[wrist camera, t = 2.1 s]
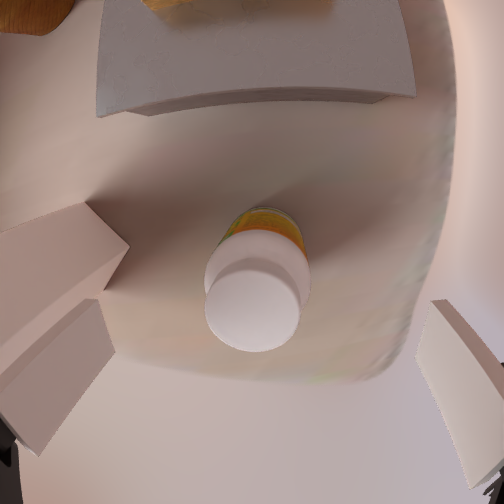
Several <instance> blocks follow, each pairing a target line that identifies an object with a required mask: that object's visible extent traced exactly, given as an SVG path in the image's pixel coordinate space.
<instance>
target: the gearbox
mask: <svg viewBox="0 0 504 504" xmlns="http://www.w3.org/2000/svg"><path fill="white" fill-rule="evenodd" d="M389 95H396V96H403V97H409V98H415V97H417V93H416V85H415V77H414V71H413V64H412V58H411V53H410V47H409V42H408V38H407V33H406V29H405V25H404V21H403V17H402V13H401V9H400V6H399V2H398V0H105V3H104V9H103V15H102V22H101V30H100V40H99V50H98V65H97V91H96V114H97V117H99V118H102V117H106V116H109V115H113V114H116V113H120V112H124V111H127V112H132V113H136V114H141V115H145V116H153V115H158V114H163V113H168V112H174V111H180V110H186V109H193V108H200V107H208V106H216V105H225V104H235V103H248V102H264V101H298V100H307V101H341V102H357V103H369V104H373V103H375V102H377V101H379V100H381V99H383V98H385V97H387V96H389Z"/></svg>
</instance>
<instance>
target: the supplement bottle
mask: <svg viewBox="0 0 504 504" xmlns="http://www.w3.org/2000/svg"><path fill="white" fill-rule="evenodd" d="M204 286H205V291H206V295H207V296H206V300H205V307H204V310H205V317H206V320H207V323H208V325H209V327H210V328H211V330H212V331H213V333H214V334H215V335H216V336H217V337H218V338H219V339H220V340H222V341H223V342H224V343H226V344H227V345H229V346H231V347H233V348H236V349H239V350H243V351H248V352H262V351H267V350H271V349H274V348H276V347H279V346H281V345H282V344H284V343H285V342H287V341H288V340H289V339H290V338H291V337H292V335H293V334H294V333H295V331H296V329H297V327H298V325H299V322H300V317H301V311H302V309H303V308H304V306H305V305H306V303H307V300H308V298H309V295H310V290H311V273H310V267H309V263H308V259H307V255H306V251H305V247H304V242H303V238H302V235H301V232H300V229H299V227H298V226H297V224H296V223H295V221H294V220H293V219H292V218H291V217H290V216H288V215H287V214H286V213H284V212H282V211H280V210H277V209H275V208H269V207H260V208H254V209H251V210H248V211H246V212H245V213H243V214H242V215H240V216H239V217H238V218H237V219H236V220H235V221H234V222H233V224H232V225H231V227H230V228H229V230H228V231H227V233H226V234H225V236H224V237H223V239H222V240H221V242H220V243H219V245H218V246H217V247H216V249H215V250H214V252H213V253H212V255H211V257H210V259H209V261H208V263H207V266H206V270H205V275H204Z"/></svg>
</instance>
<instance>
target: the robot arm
mask: <svg viewBox="0 0 504 504" xmlns="http://www.w3.org/2000/svg"><path fill="white" fill-rule="evenodd" d="M114 353H115V350H114V347H113V344H112V341H111V338H110V336H109V333H108V330H107V327H106V324H105V321H104V318H103V314H102V311H101V308H100V304H99V301H98V300H96V299H86V298H85V299H84V300H83V301H82V302H80V303H79V304H78V305H77V306H76V307H74V308H73V309H72V310H71V311H70V312H68V313H67V314H66V315H65V316H64V317H63V318H61V319H60V320H59V321H58V322H57V323H56V324H54V325H53V326H52V327H51V328H50V329H49V330H48V331H46V332H45V333H44V334H43V335H42V336H41V337H40V338H39V339H38V340H36V341H35V342H34V343H33V344H32V345H31V346H30V347H29V348H28V349H27V350H26V351H24V352H23V353H22V354H21V355H20V356H19V357H18V358H17V359H16V360H15V361H14V362H13V363H12V364H11V365H10V366H9V367H8V368H7V369H6V370H5V371H4V372H3V373H2V374H1V375H0V504H23V500H22V491H21V483H20V472H19V457H18V447H17V444H16V443H15V442H14V441H15V440H16V438H17V439H18V440H19V441H20V443H21V444H22V445H23V446H24V447H25V448H26V449H27V450H29V451H30V452H32V453H33V454H35V455H36V456H38V457H39V456H40V454H41V453H42V451H43V450H44V448H45V447H46V445H47V444H48V442H49V441H50V440H51V438H52V437H53V435H54V434H55V432H56V431H57V429H58V428H59V427H60V425H61V424H62V423H63V421H64V420H65V418H66V417H67V415H68V414H69V413H70V411H71V410H72V408H73V407H74V406H75V405H76V403H77V402H78V400H79V399H80V398H81V396H82V395H83V394H84V392H85V391H86V390H87V388H88V387H89V386H90V384H91V383H92V382H93V380H94V379H95V378H96V377H97V375H98V374H99V372H100V371H101V370H102V369H103V367H104V366H105V365H106V364H107V362H108V361H109V360H110V358H111V357H112V356H113V355H114ZM415 360H416V362H417V364H418V366H419V368H420V370H421V372H422V374H423V376H424V378H425V380H426V382H427V384H428V386H429V388H430V391H431V393H432V395H433V397H434V399H435V401H436V404H437V406H438V408H439V410H440V413H441V415H442V417H443V419H444V422H445V424H446V427H447V429H448V431H449V434H450V436H451V439H452V441H453V444H454V446H455V449H456V451H457V454H458V457H459V460H460V462H461V465H462V468H463V471H464V474H465V477H466V480H467V483H468V486H469V489H472V488H475V487H477V486H479V485H481V484H483V483H485V482H487V481H489V480H490V479H491V478H492V477H493V476H494V475H495V474H496V473H497V472H498V471H500V474H501V476H500V477H499V478H498V479H497V480H496V481H495V482H494V483H492V484H491V485H490V486H489V487H488V488H487V489H486V490H485V492H484V494H483V495H486V494H487V493H489V492H490V491H491V490H492V489H493V488H494V490H493V492H492V493H491V494H490V495H489V496H491V499H490V501H489V504H504V363H500V362H499V361H498V360H497V358H496V357H495V356H494V355H493V354H492V352H491V351H490V349H489V348H488V347H487V346H486V344H485V343H484V342H483V341H482V339H481V338H480V337H479V336H478V335H477V333H476V332H475V331H474V330H473V329H472V328H471V326H470V325H469V324H468V323H467V322H466V321H465V320H464V318H463V317H462V316H461V315H460V314H459V313H458V312H457V311H456V309H455V308H454V307H453V306H452V305H451V304H450V303H449V302H448V301H447V300H446V299H445V300H435V301H431V302H430V306H429V310H428V314H427V318H426V322H425V325H424V329H423V333H422V336H421V339H420V343H419V346H418V349H417V352H416V355H415Z"/></svg>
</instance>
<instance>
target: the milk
mask: <svg viewBox="0 0 504 504" xmlns="http://www.w3.org/2000/svg"><path fill="white" fill-rule="evenodd" d="M129 248H130V246H129V245H128V244H127V243H126V242H125V241H124V240H123V239H122V238H121V237H119V236H118V235H117V234H116V233H115V232H114V231H113V230H112V229H111V228H110V227H109V226H108V225H107V224H106V223H105V222H104V221H103V220H102V219H101V218H100V217H99V216H98V215H97V214H96V213H95V212H94V211H93V210H92V209H91V208H90V207H89V206H88V205H87V204H86V203H85V202H81V203H78V204H75V205H72V206H69V207H66V208H64V209H61V210H58V211H55V212H52V213H50V214H47V215H44V216H41V217H39V218H36V219H33V220H31V221H28V222H26V223H23V224H21V225H18V226H16V227H13V228H11V229H9V230H6V231H4V232H2V233H0V375H1V374H2V373H3V372H4V371H5V370H6V369H7V368H8V367H9V366H10V365H11V364H12V363H13V362H14V361H15V360H16V359H17V358H18V357H19V356H20V355H21V354H22V353H23V352H24V351H26V350H27V349H28V348H29V347H30V346H31V345H32V344H33V343H34V342H35V341H36V340H38V339H39V338H40V337H41V336H42V335H43V334H44V333H45V332H46V331H48V330H49V329H50V328H51V327H52V326H53V325H54V324H56V323H57V322H58V321H59V320H60V319H61V318H63V317H64V316H65V315H66V314H67V313H68V312H70V311H71V310H72V309H73V308H74V307H76V306H77V305H78V304H79V303H80V302H82V301H83V300H84V299H85V298H86V299H94V298H95V297H97V296H98V295H99V294H100V293H101V292H102V291H103V290H104V288H105V286H106V285H107V283H108V281H109V280H110V278H111V276H112V275H113V273H114V271H115V270H116V268H117V267H118V265H119V263H120V262H121V260H122V259H123V257H124V255H125V254H126V252H127V251H128V249H129Z"/></svg>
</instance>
